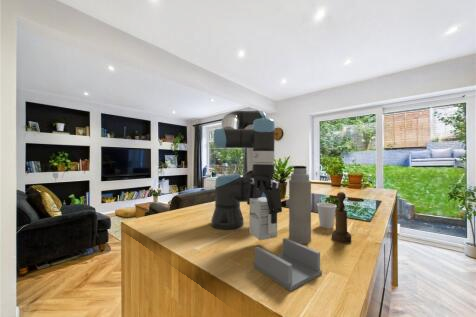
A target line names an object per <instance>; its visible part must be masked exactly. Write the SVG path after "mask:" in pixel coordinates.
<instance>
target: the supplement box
mask: <svg viewBox="0 0 476 317" xmlns="http://www.w3.org/2000/svg"><path fill="white" fill-rule="evenodd" d="M273 210H274V209H273ZM268 213H270V210H269V206H268V202H267V199H266V197H260V198H250V205H249V214H248V215H249V216H248V217H249V218H248V219H249V227H248V229H249V232H248V233H249V234H251V235H252V236H253V237H255V239H257V240H258V241H265V240H269V239H276V238H278V222H277V223H276V232H274V233H271V234H269V233H268Z"/></svg>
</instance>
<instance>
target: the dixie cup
mask: <svg viewBox="0 0 476 317" xmlns="http://www.w3.org/2000/svg"><path fill="white" fill-rule="evenodd" d="M316 205H317V212H318V220H319V226H320V228H323V229H334V225H335V220H336V213H335V210H337V207H338V205H337V204H334V203H328V202H319V203H316Z"/></svg>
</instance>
